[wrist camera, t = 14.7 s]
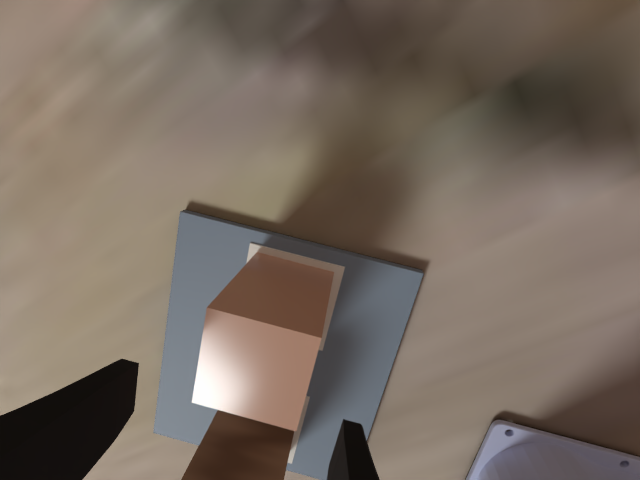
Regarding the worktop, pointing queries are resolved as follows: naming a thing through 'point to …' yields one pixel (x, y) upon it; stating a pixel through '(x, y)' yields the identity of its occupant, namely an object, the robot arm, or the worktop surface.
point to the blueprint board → (335, 347)
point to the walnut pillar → (240, 450)
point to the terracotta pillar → (263, 340)
